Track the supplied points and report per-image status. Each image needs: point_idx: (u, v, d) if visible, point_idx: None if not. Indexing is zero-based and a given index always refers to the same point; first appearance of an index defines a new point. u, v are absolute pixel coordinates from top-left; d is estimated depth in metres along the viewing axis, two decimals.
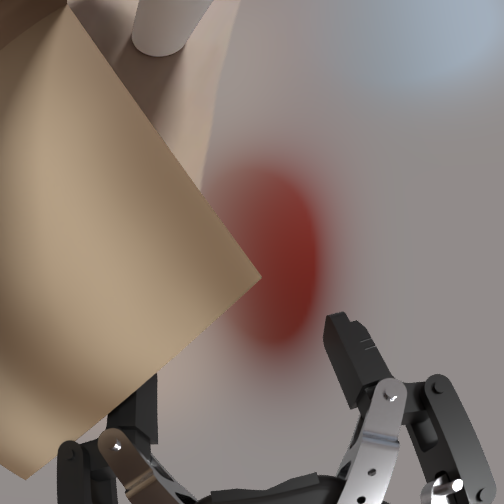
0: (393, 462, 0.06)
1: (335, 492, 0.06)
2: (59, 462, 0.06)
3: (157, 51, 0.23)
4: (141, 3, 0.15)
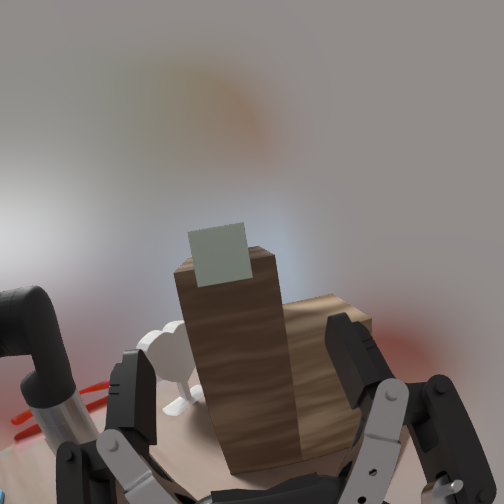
0: (394, 463, 0.06)
1: (335, 492, 0.06)
2: (58, 462, 0.06)
3: None
4: None
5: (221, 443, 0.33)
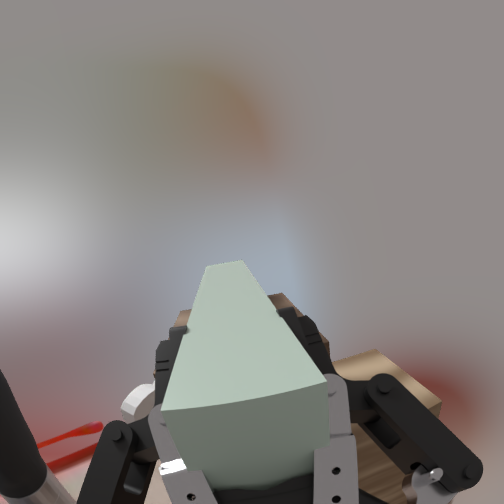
0: (355, 455, 0.06)
1: None
2: (102, 438, 0.07)
3: None
4: None
5: None
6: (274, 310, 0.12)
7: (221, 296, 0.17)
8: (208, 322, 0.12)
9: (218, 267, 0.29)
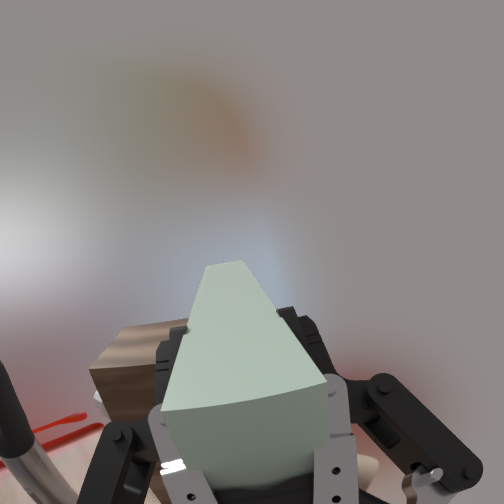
0: (355, 455, 0.06)
1: None
2: (102, 438, 0.07)
3: None
4: None
5: (161, 502, 0.27)
6: (274, 310, 0.12)
7: (221, 296, 0.16)
8: (208, 322, 0.12)
9: (218, 267, 0.29)
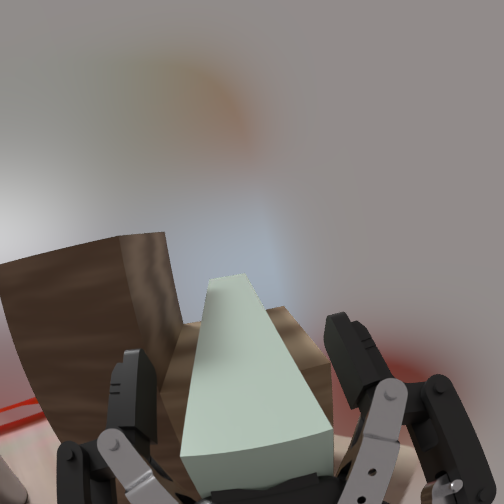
0: (394, 462, 0.06)
1: (335, 492, 0.06)
2: (59, 462, 0.06)
3: None
4: None
5: None
6: (281, 342, 0.12)
7: (227, 321, 0.16)
8: (216, 354, 0.12)
9: (221, 282, 0.29)
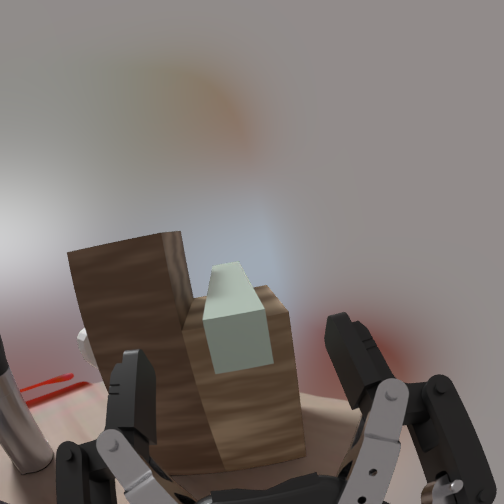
0: (394, 463, 0.06)
1: (335, 492, 0.06)
2: (58, 462, 0.06)
3: None
4: None
5: None
6: (252, 288, 0.24)
7: (224, 283, 0.28)
8: (218, 294, 0.24)
9: (221, 266, 0.41)
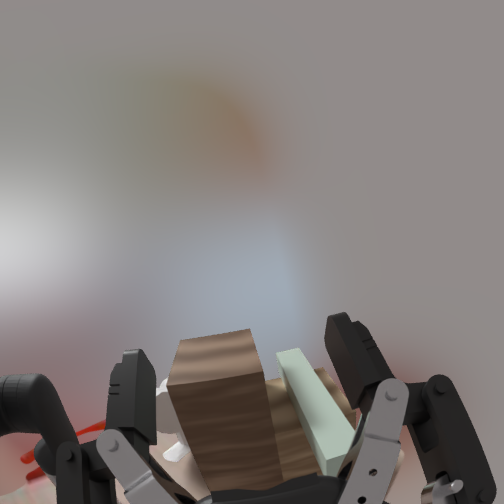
0: (394, 462, 0.06)
1: (335, 492, 0.06)
2: (58, 462, 0.06)
3: None
4: None
5: None
6: (341, 413, 0.27)
7: (311, 399, 0.31)
8: (317, 420, 0.27)
9: (287, 358, 0.44)
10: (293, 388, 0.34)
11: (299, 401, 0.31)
